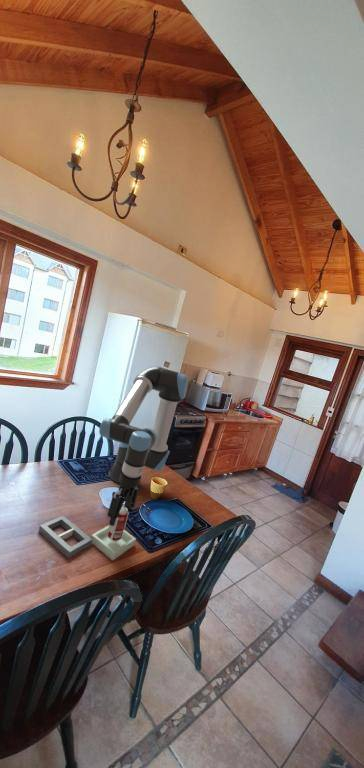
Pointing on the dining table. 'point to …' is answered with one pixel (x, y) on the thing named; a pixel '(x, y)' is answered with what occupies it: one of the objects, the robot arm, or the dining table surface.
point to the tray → (112, 543)
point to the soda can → (119, 525)
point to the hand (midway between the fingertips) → (116, 528)
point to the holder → (65, 536)
